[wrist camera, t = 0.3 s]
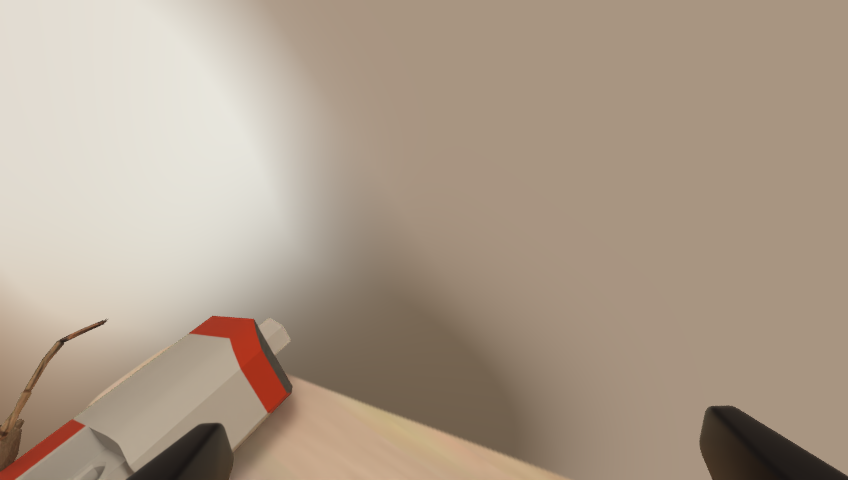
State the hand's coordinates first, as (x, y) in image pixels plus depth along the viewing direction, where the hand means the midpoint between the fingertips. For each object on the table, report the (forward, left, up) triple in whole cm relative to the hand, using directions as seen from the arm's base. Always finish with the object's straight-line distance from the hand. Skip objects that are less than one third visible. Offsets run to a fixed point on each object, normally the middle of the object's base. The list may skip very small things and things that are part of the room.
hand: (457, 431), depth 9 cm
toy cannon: (+9, +13, -12) cm, 20 cm away
